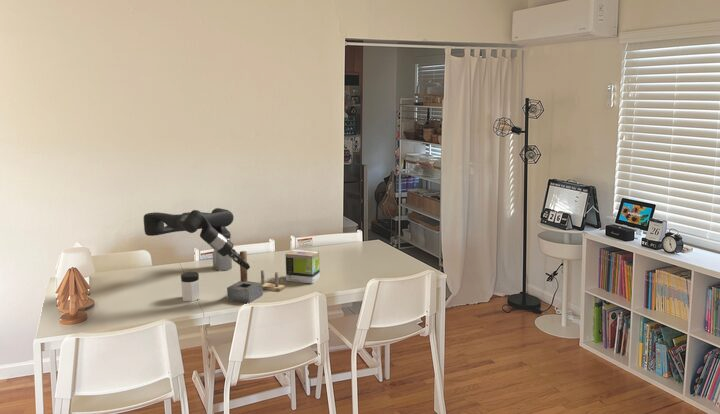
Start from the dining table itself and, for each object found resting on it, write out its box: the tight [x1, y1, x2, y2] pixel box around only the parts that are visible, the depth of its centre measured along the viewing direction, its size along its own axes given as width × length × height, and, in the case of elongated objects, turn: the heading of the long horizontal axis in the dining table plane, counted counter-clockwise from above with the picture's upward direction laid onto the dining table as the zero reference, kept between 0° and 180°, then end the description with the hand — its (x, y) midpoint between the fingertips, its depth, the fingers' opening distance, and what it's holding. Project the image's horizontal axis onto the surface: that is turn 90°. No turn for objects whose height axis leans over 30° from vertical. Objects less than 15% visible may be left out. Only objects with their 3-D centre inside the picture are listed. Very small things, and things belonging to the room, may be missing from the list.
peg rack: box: [259, 269, 286, 292], centre depth 307 cm, size 14×5×8 cm, turn 68°
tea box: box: [285, 248, 321, 284], centre depth 319 cm, size 15×10×15 cm, turn 71°
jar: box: [180, 271, 201, 302], centre depth 292 cm, size 9×8×12 cm
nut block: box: [226, 280, 264, 304], centre depth 294 cm, size 12×12×6 cm
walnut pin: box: [239, 250, 249, 282], centre depth 291 cm, size 3×3×14 cm
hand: (248, 267), depth 292 cm, fingers closed on walnut pin, 3 cm apart
